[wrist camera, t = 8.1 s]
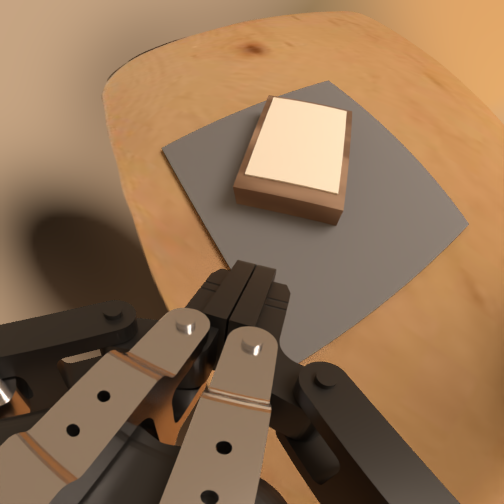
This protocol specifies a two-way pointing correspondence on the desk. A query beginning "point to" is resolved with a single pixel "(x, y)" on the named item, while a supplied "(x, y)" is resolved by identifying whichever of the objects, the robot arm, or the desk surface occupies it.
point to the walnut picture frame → (297, 160)
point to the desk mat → (318, 233)
